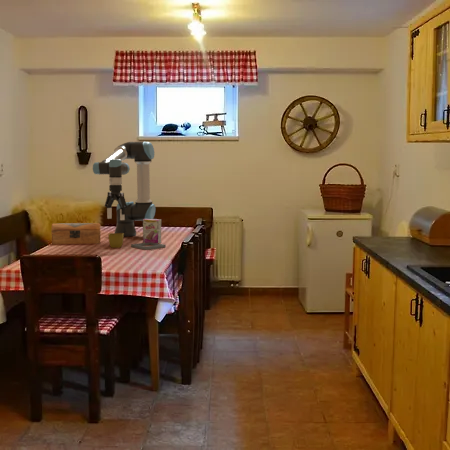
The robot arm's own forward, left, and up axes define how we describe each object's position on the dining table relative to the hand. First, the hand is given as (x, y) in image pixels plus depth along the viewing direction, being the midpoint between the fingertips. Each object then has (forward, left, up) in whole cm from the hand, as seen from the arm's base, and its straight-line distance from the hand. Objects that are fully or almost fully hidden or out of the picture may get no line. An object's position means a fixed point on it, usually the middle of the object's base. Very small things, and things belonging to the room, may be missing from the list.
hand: (115, 219), depth 373 cm
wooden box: (-31, -9, -18) cm, 37 cm away
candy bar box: (+1, +27, -18) cm, 33 cm away
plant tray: (+14, +14, -18) cm, 27 cm away
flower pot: (0, 0, -18) cm, 18 cm away
